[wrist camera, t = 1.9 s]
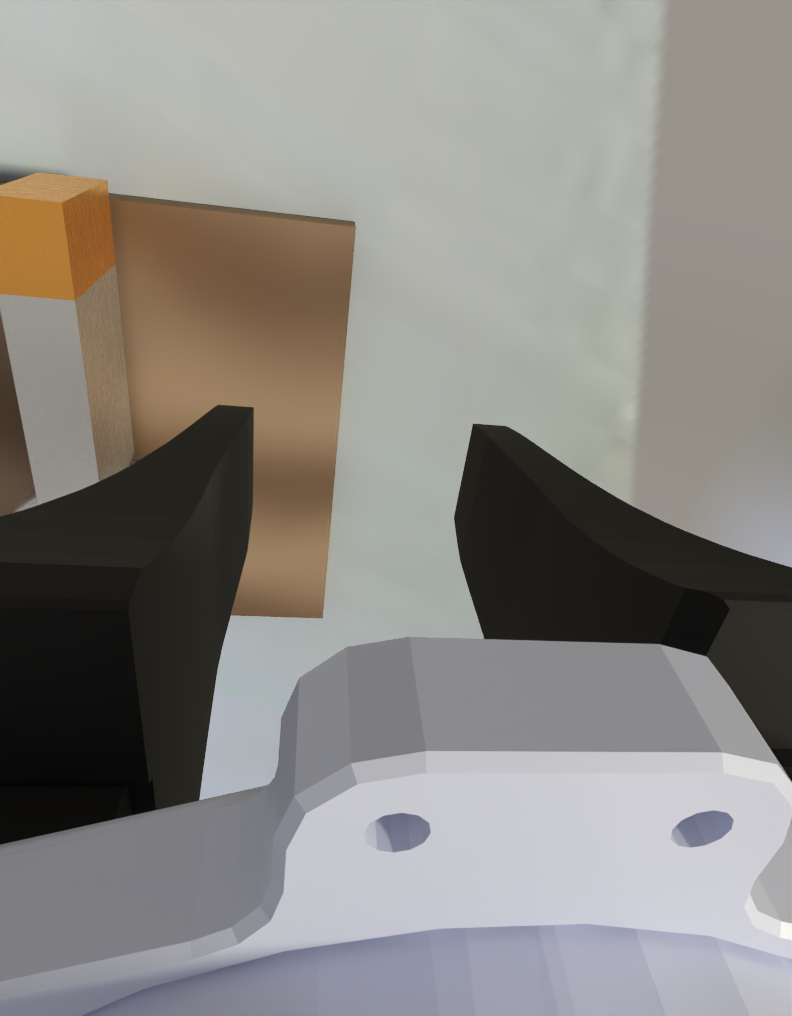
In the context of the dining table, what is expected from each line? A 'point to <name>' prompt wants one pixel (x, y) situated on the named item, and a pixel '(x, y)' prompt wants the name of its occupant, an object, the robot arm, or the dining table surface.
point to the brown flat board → (231, 368)
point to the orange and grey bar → (64, 332)
